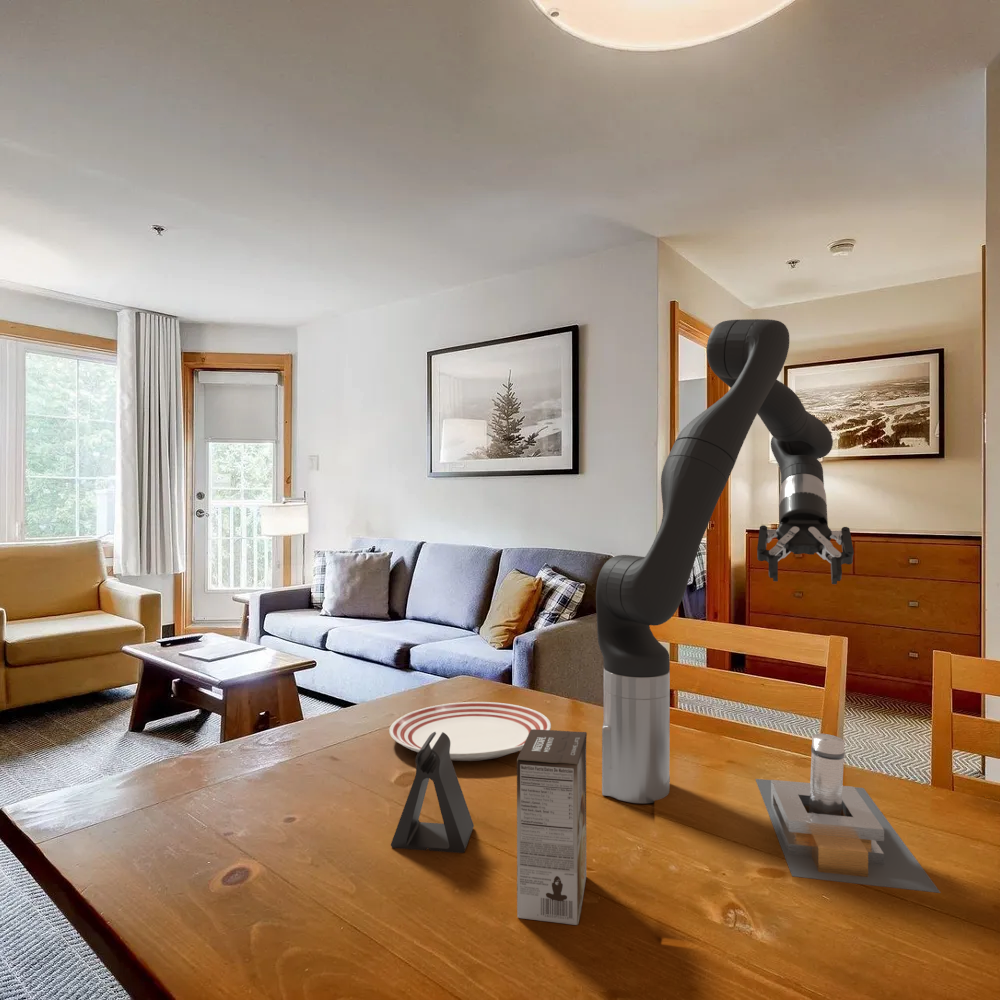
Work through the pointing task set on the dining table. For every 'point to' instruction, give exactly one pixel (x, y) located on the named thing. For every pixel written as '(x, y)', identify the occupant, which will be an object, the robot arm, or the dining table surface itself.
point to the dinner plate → (470, 728)
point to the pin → (826, 774)
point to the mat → (894, 872)
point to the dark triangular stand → (450, 801)
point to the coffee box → (551, 826)
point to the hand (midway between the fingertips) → (804, 579)
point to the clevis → (827, 830)
